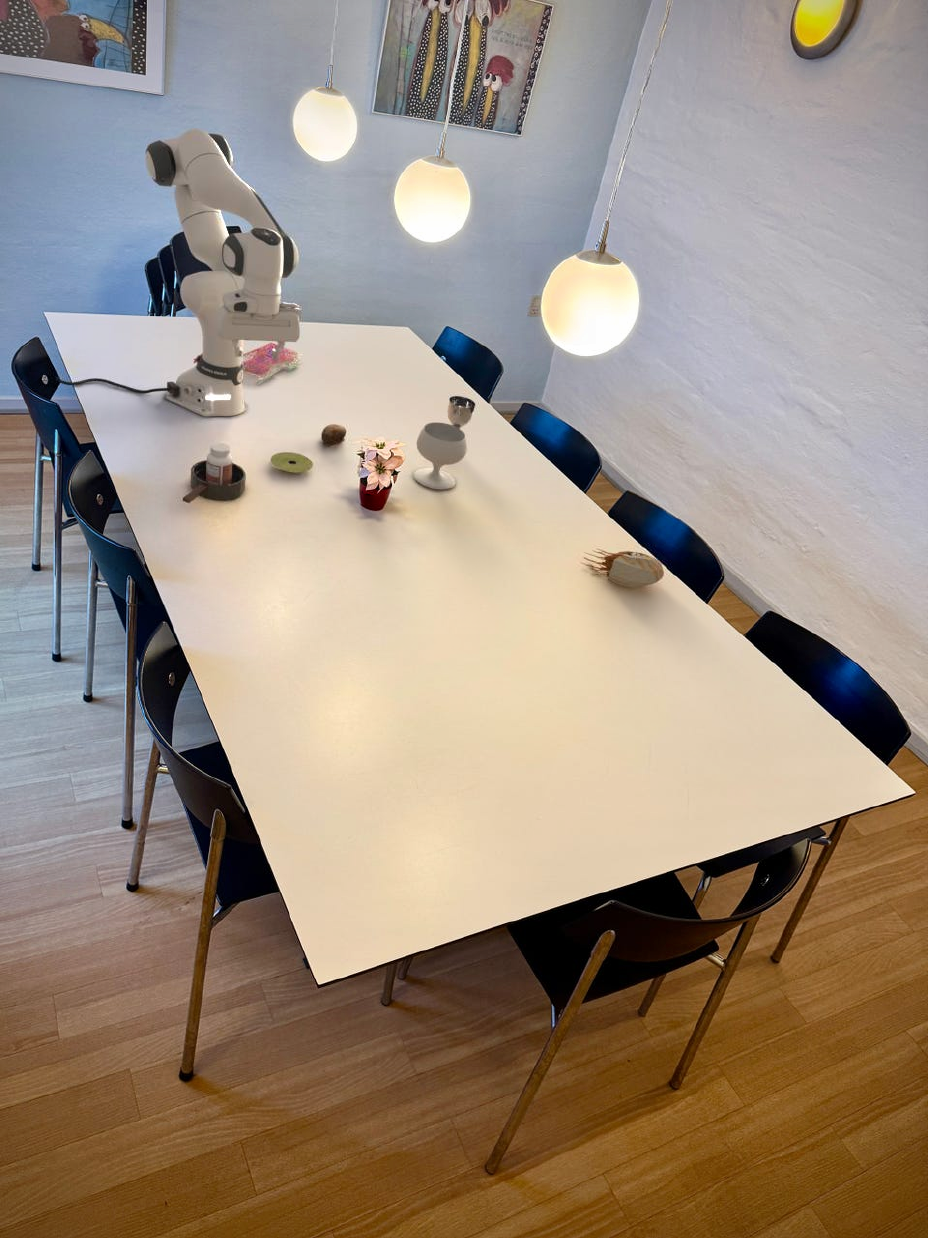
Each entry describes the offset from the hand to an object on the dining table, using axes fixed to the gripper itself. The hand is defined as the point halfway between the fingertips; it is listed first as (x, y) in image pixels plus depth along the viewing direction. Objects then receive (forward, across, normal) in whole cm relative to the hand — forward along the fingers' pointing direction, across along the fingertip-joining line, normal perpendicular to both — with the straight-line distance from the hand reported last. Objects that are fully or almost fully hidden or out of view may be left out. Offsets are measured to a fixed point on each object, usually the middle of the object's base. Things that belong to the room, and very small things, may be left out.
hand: (256, 356), depth 221 cm
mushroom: (+29, -27, -8) cm, 40 cm away
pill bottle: (+29, +12, +14) cm, 34 cm away
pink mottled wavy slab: (+29, -23, -61) cm, 71 cm away
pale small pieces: (+29, -27, +20) cm, 44 cm away
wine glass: (+29, -64, -4) cm, 71 cm away
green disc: (+29, -10, +5) cm, 31 cm away
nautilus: (+29, -78, +68) cm, 108 cm away
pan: (+29, +12, +14) cm, 34 cm away
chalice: (+29, -49, +15) cm, 59 cm away
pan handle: (+26, +19, +22) cm, 39 cm away
